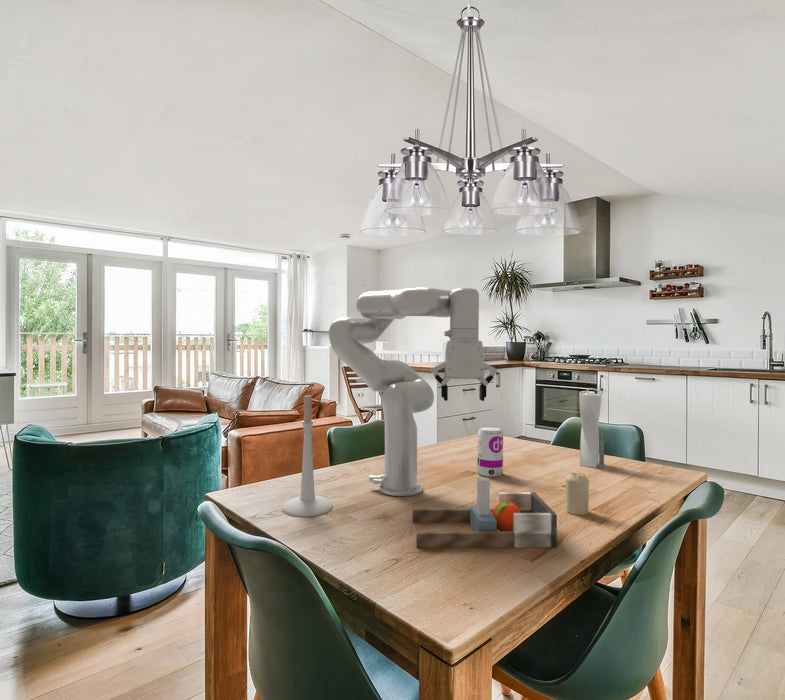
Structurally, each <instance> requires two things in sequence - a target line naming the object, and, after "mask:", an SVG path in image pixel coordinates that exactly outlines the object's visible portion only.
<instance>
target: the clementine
mask: <svg viewBox="0 0 785 700" xmlns="http://www.w3.org/2000/svg"><path fill="white" fill-rule="evenodd" d="M492 509H493V512H492V514H493V516H494V517H495V519H496V521H497V531H513V517H514V513H521V511H520V510H519V508H518V507H517V506H516V505H514V504H513V503H510V502H502V503H500V504H498V503H497V505H495V506H494V508H492Z"/></svg>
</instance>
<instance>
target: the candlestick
mask: <svg viewBox="0 0 785 700" xmlns="http://www.w3.org/2000/svg"><path fill="white" fill-rule="evenodd" d="M312 400H313V399H312V395H309V394H307V395H304V396H303V420H301V421H300V422H301V424H302V429H303V431H304V433H303V447H302V449H303V450H302V462H301V463H302V467H301V483H300V484H301V485H300V496H296V497H293V498H290V499H289V500H287V501H286V502H285V503H284V504H283V506H282V512H283V513H285V514H286V515H289V516H293V517H297V518H298V517H299V518H300V517H301V518H302V517H303V518H304V517H305V518H309V517H315V516H316V517H317V516H321V515H323V514H324V515H325V514H327V513H329V512H330V511H331V510H332V509H333V503H332V502H331V500H329V499H328V498H326V497H324V496H320V495H316V493H315V479H314V477H315V476H314V458H313V439H312V435H313V434H312V433H311V432H312V429H313V427H314V425H313V423H315V420H313V419H312V409H313V408H312V404H313V403H312Z"/></svg>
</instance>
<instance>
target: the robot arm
mask: <svg viewBox="0 0 785 700" xmlns="http://www.w3.org/2000/svg"><path fill="white" fill-rule="evenodd" d="M479 293H480V292H479V291H478V290H477V289H476V288H472V287H471V288H470V287H461V288H454V289H452V290H450V289H449V290H447V289H439V288H433V287H413V288H411V287H410V288H402V289H401V288H399V289H390V290H389V289H388V290H372V291H367V292H363V293H362V294H361V295H360V296H359V297H358V298H357V300H356V304H355V305H356V310H357V312H358V314H359V315H360V316H359V317H357V316H342V317H340V318H337V319H335V320H334V321H333V322H332V323H330V326H329V329H328V337H329V343H330V346H331V348H332V350H333V352H334V354H335V355H336V356H337V357H338V358H339V360H341V361H342V362H343V363H344V364H345V365H346V366H348V367H349V368H350V369H351V370H352V371H353V373H355V375H356V376H357V377H358V378H359V379H360V380H361V381H362V382H363V383H364V384H365V385H366V386H367V387H368V388H369V389H370V390H372V391H373V392H379V393H380V392H381V393H382V394H381V407H382V413H383V417H384V418H383V419H384V472H383V474H380V475H369V483H372V484H374V485H377V484H378V485H379V486H378V487H379V488H378V489H379V491H380V492H381V493H382V494H385V495H388V496H394V497H408V496H409V497H410V496H411V497H412V496H414V495H418V494H420V493H421V492H422V491H423V485H422V484H421V483H420V482H418V426H417V423H416V420H415V418H414V414H417V413H421V412H424V411H427V410H429V409H431V407H432V406H433V404H434V401H435V393H434V390H433V389H432V386H431V385H430V384H429V383H428V382H427V381H426V380H425V378H423V377H422V376H421V375H420V374H419V373H417V372H416V371H415V369H413V368H412V367H411V366H410V365H409V364H407V363H406V362H404V361H401V360H398V359H397V360H394V359H390V360H386V359H382V358H380V357H379V356H378V355H377V354H376V353H374V351H372V350H371V349H370V348H368V347H367V346H365V345H363V344H370V343H373V342H375V341H376V340H378V339H379V338H380V337H381V336H382V335H383V333H384V332H385V331H386V330H387V328H388V327H390V326H391V324H392V323H393V321H394V320H402V319H404V318H406V317H432V318H433V317H434V318H449V330H444V337H448V338H449V340H447V342H446V346H445V352H444V353H445V354H444V361H443V362H441V363H440V364H438V365H436V366H435V365H434V367H431V369H430V371H431V373H432V375H433V377H434V378H435V380H436V381H437V382H438V383H439V384H440V385H441V387H440V389H441V392H440V394H441V398H443V401H445V402H447V401H448V399H449V398H448V396H449V395H448V394H449V393H448V392H449V387H448V385H447V383H448V382H449V381H450V380H451V379H453V380H454V379H457V380H478V381H479V382H480V384H479V387H478V391H479V393H478V394H479V395H478V398H479V400H480V401H482V402H484V401H485V398H487V387H488V385H489V383H490V382H492V380H493V379H494V378H495V375H496V374H497V372H498V370H497V368H496V367H494V366H492V365H490V364H488V363H486V362H485V355H484V354H485V353H484V345H483V341H482V340H479V335H480V333H479V330H480V328H479V326H480V325H479V324H480V323H479V319H480V294H479ZM443 369H444V371H443V372H444V376H443V378H442V377H441V376H440V375H439V371H440V370H443ZM485 370H488V371H489V374H488V375H487V376H486V377H484V376H485Z"/></svg>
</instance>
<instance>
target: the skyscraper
mask: <svg viewBox="0 0 785 700" xmlns="http://www.w3.org/2000/svg"><path fill="white" fill-rule="evenodd" d="M590 390H593V391H590ZM596 391H597V392H598V393H596ZM578 394H579V397H578V398H579V399H578V400H579V401H578V402H579V414H580V415H579V416H580V422H581V423H580V424H581V429H580V443H579V444H580V445H579V466H580V467H584V468H592V469H600V470H602V469H603V468H604V466H605V447H604V446H605V442H604V432H603V429H601V434H600V433H599V425H598V424H599V419H600V416H601V415H600V414H601V407H602V405H601V404H602V393H601V392H600V390H599V389H597V388H594V387H589V388H587V389H586V390H583V391H579V393H578Z"/></svg>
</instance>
